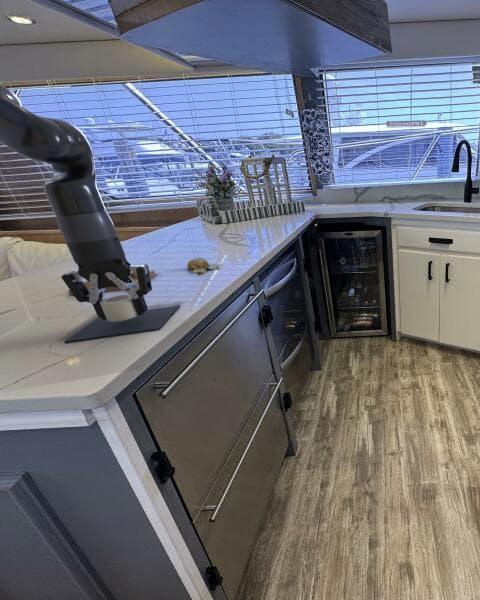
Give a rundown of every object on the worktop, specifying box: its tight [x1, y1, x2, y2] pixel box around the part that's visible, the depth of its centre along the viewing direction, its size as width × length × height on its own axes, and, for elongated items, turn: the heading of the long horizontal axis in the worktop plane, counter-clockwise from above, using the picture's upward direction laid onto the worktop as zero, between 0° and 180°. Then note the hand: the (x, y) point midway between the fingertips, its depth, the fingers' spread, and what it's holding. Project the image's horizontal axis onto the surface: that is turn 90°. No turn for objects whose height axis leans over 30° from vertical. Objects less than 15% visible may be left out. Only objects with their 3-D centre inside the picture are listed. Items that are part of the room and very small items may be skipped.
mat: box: [63, 304, 181, 344], centre depth 68 cm, size 16×12×1 cm
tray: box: [67, 269, 156, 297], centre depth 90 cm, size 15×12×2 cm
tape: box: [100, 292, 138, 322], centre depth 67 cm, size 6×6×4 cm
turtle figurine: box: [187, 257, 221, 275], centre depth 101 cm, size 8×8×4 cm
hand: (125, 315), depth 68 cm, fingers closed on tape, 5 cm apart
